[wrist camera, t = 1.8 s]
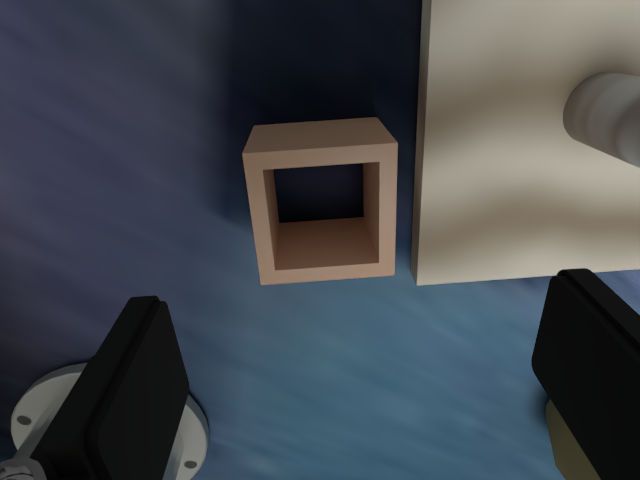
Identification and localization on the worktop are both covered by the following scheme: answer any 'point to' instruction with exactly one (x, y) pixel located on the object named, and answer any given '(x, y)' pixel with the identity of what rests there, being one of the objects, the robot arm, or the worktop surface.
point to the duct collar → (334, 234)
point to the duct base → (526, 139)
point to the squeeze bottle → (567, 448)
